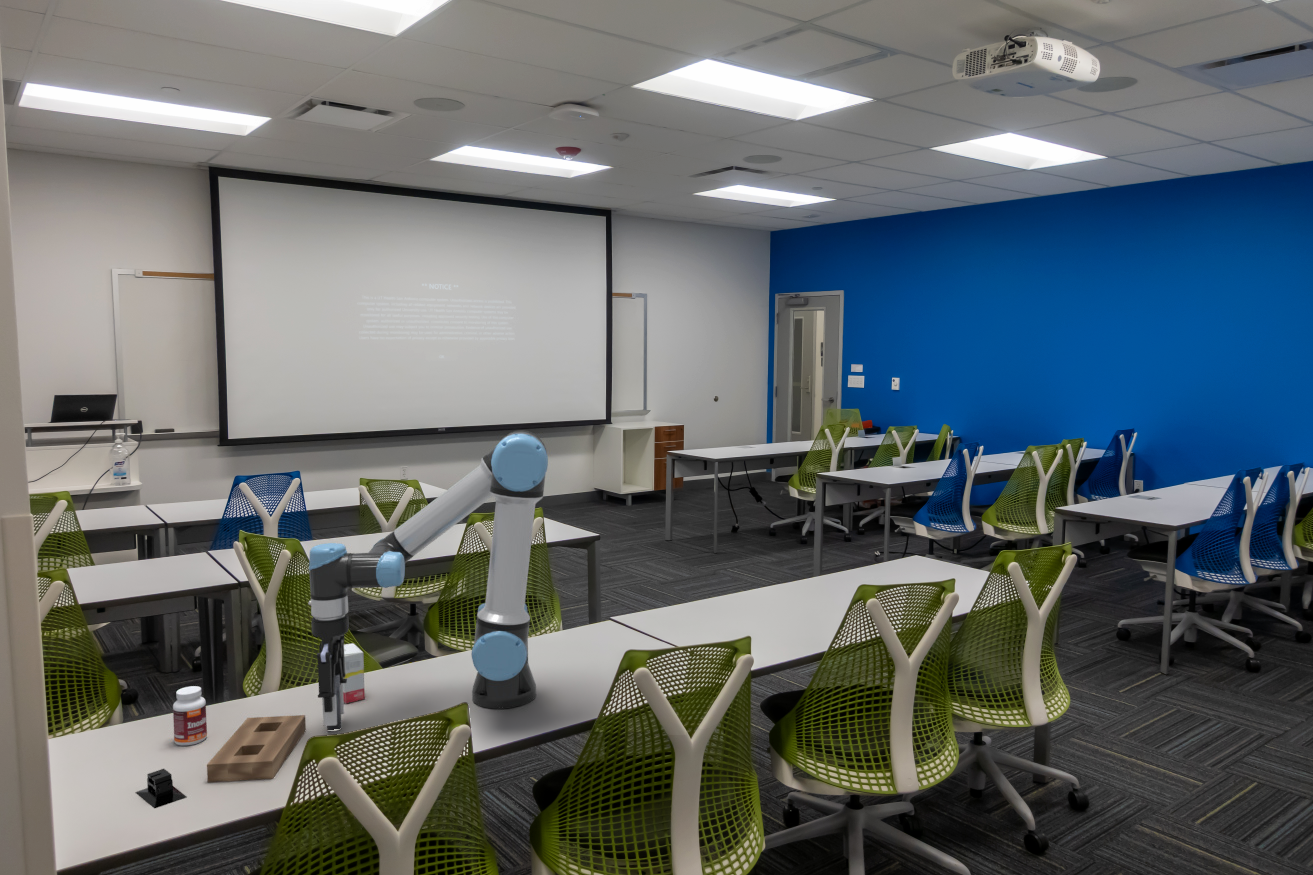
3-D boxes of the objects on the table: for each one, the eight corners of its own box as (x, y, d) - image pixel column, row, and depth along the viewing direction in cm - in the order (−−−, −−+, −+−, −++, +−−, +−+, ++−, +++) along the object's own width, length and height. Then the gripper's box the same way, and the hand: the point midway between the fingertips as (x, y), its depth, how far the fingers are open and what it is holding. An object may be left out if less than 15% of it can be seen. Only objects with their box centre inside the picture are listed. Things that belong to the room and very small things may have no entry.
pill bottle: (190, 748, 180) (188, 697, 179) (167, 744, 182) (164, 693, 181) (214, 735, 186) (211, 686, 185) (191, 732, 188) (188, 683, 187)
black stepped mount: (127, 793, 162) (126, 770, 162) (169, 779, 168) (168, 756, 167) (153, 816, 154) (151, 791, 154) (196, 800, 160) (194, 776, 159)
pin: (343, 725, 191) (341, 673, 190) (339, 731, 188) (337, 678, 187) (328, 726, 191) (326, 673, 190) (325, 732, 188) (323, 678, 187)
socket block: (305, 730, 189) (305, 714, 188) (272, 778, 167) (272, 760, 167) (248, 733, 187) (247, 717, 187) (207, 781, 166) (206, 764, 165)
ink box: (365, 699, 206) (364, 651, 205) (344, 704, 203) (343, 655, 202) (355, 688, 213) (353, 641, 212) (334, 693, 210) (332, 645, 209)
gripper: (323, 604, 196) (327, 703, 198) (299, 628, 178) (303, 737, 180) (357, 603, 197) (360, 701, 199) (337, 627, 179) (341, 736, 181)
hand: (333, 718), depth 189 cm, fingers open, 5 cm apart
